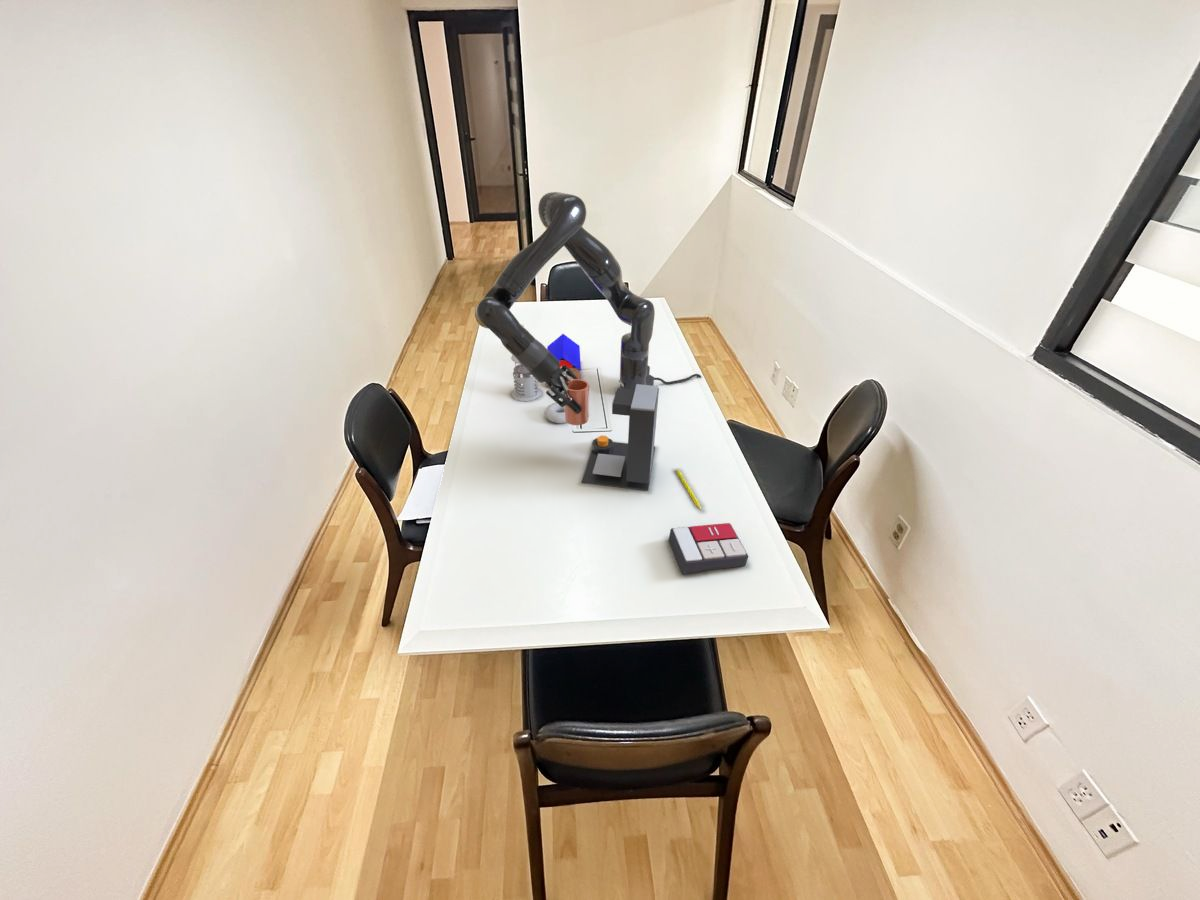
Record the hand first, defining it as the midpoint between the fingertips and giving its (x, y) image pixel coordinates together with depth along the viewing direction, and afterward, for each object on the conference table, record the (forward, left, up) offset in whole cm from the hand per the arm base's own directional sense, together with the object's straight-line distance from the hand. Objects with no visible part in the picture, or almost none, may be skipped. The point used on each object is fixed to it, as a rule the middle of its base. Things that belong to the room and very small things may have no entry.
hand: (582, 404), depth 140 cm
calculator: (-3, +47, -18) cm, 50 cm away
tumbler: (+1, -1, -5) cm, 5 cm away
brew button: (-7, 0, -15) cm, 17 cm away
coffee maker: (-5, +12, -15) cm, 20 cm away
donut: (-6, -22, -18) cm, 29 cm away
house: (-22, -46, -18) cm, 54 cm away
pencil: (-15, +28, -18) cm, 36 cm away
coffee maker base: (-7, +9, -18) cm, 21 cm away
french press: (-4, -42, -18) cm, 46 cm away
